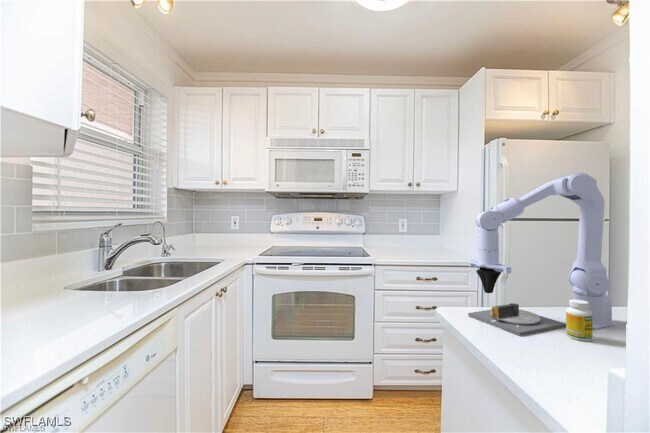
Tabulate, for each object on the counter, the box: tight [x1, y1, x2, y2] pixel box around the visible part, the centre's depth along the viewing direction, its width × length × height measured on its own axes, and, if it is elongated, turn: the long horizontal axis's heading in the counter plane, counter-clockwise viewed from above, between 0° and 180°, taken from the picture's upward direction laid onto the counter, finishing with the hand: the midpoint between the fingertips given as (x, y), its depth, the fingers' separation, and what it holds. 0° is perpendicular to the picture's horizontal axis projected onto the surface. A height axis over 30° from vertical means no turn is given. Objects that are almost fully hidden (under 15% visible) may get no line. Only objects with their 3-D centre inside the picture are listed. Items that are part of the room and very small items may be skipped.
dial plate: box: [467, 308, 566, 337], centre depth 96 cm, size 18×18×1 cm
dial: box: [490, 303, 540, 325], centre depth 96 cm, size 14×13×4 cm
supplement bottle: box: [565, 298, 594, 342], centre depth 83 cm, size 5×5×10 cm
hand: (488, 292), depth 100 cm, fingers closed
